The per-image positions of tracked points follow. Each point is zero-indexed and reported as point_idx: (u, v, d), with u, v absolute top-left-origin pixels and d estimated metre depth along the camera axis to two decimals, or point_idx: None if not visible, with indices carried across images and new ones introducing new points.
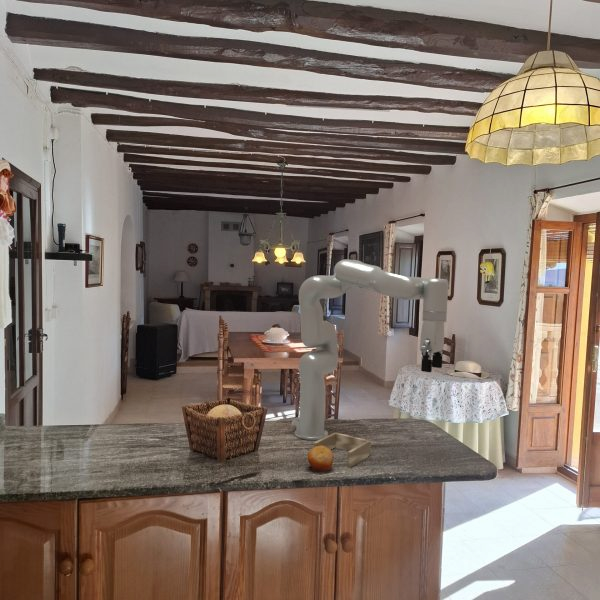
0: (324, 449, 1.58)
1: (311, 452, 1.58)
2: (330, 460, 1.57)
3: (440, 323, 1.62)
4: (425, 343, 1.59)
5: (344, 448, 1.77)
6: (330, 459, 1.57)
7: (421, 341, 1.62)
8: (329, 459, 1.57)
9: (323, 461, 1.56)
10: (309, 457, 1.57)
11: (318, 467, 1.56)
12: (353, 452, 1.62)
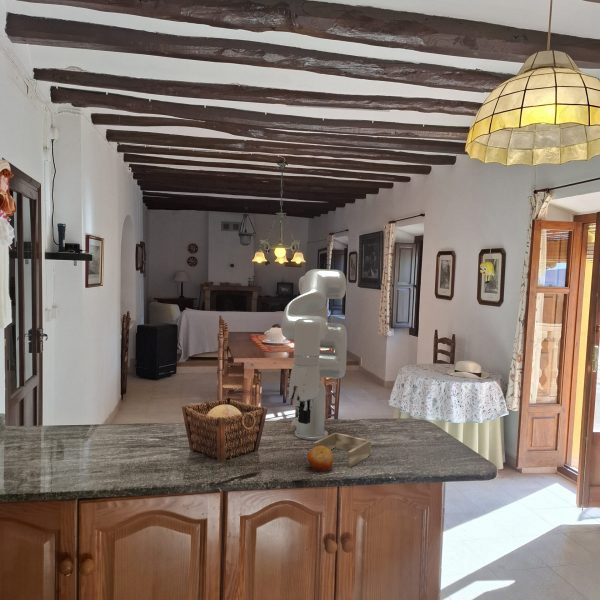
0: (324, 449, 1.58)
1: (311, 452, 1.58)
2: (330, 460, 1.57)
3: (311, 368, 1.47)
4: (295, 398, 1.46)
5: (344, 448, 1.77)
6: (330, 459, 1.57)
7: (289, 388, 1.47)
8: (329, 459, 1.57)
9: (323, 461, 1.56)
10: (309, 457, 1.57)
11: (318, 467, 1.56)
12: (353, 452, 1.62)
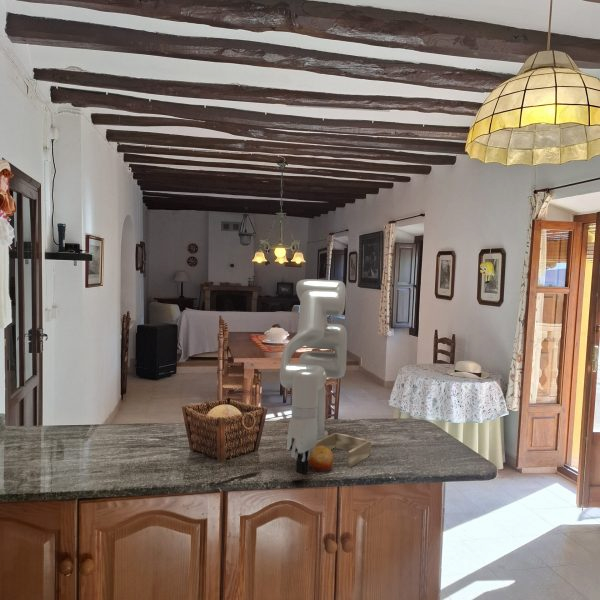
0: (324, 449, 1.58)
1: (311, 452, 1.58)
2: (330, 460, 1.57)
3: (309, 420, 1.48)
4: (293, 450, 1.46)
5: (344, 448, 1.77)
6: (330, 459, 1.57)
7: (288, 440, 1.47)
8: (329, 459, 1.57)
9: (323, 461, 1.56)
10: None
11: (318, 467, 1.56)
12: (353, 452, 1.62)
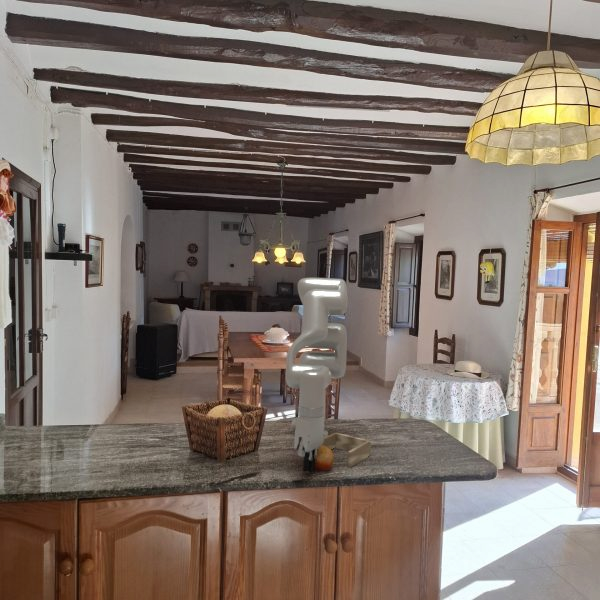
0: (324, 449, 1.59)
1: None
2: (330, 460, 1.57)
3: (316, 419, 1.51)
4: (300, 448, 1.50)
5: (344, 448, 1.77)
6: (330, 458, 1.57)
7: (295, 439, 1.51)
8: (329, 459, 1.57)
9: (324, 461, 1.56)
10: None
11: (318, 467, 1.56)
12: (353, 452, 1.62)
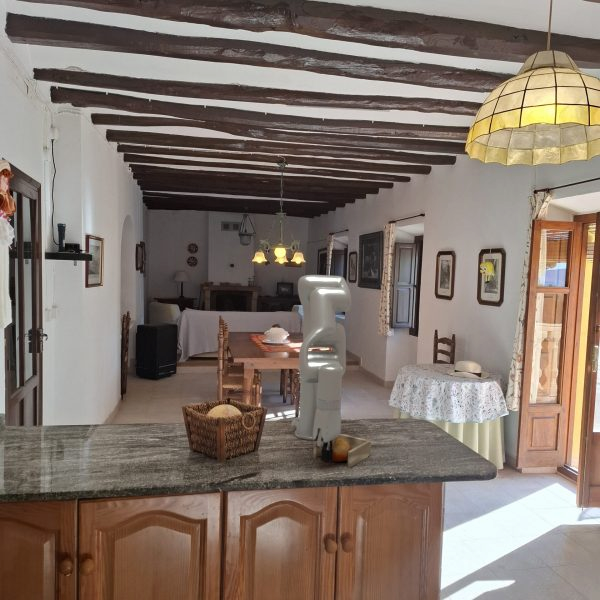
0: (341, 441, 1.66)
1: None
2: (347, 452, 1.65)
3: (333, 412, 1.59)
4: (319, 439, 1.58)
5: None
6: (347, 450, 1.65)
7: (314, 430, 1.59)
8: (346, 451, 1.64)
9: (340, 453, 1.63)
10: None
11: (335, 458, 1.64)
12: (353, 452, 1.62)
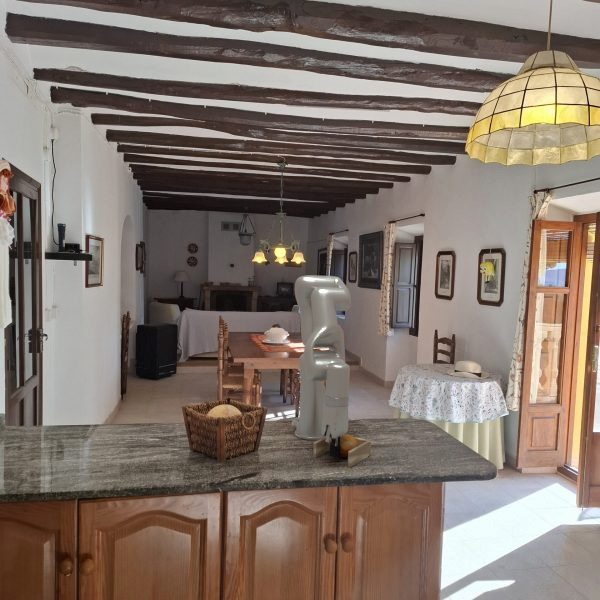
0: (349, 437, 1.70)
1: None
2: None
3: (341, 408, 1.63)
4: (327, 435, 1.62)
5: None
6: (354, 446, 1.69)
7: (322, 426, 1.63)
8: (353, 447, 1.68)
9: (348, 448, 1.68)
10: None
11: (343, 454, 1.68)
12: (353, 452, 1.62)
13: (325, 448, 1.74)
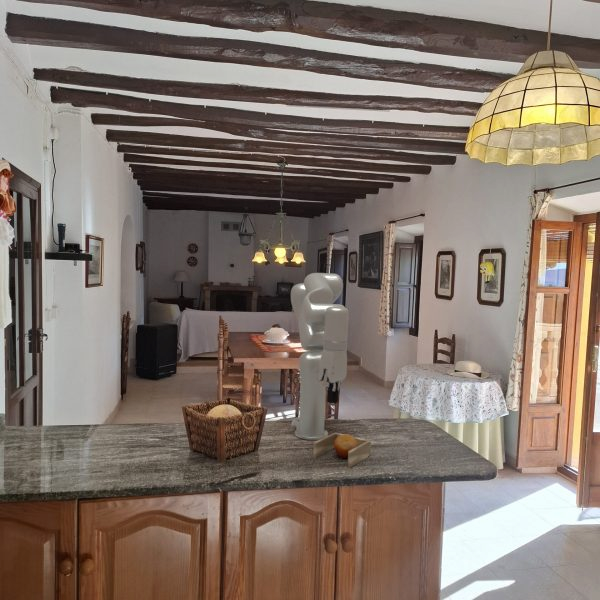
0: (349, 437, 1.70)
1: (337, 440, 1.70)
2: None
3: (339, 353, 1.60)
4: (325, 379, 1.59)
5: None
6: (354, 447, 1.69)
7: (320, 371, 1.60)
8: (353, 447, 1.68)
9: (348, 449, 1.68)
10: (335, 444, 1.70)
11: (343, 454, 1.68)
12: (353, 452, 1.62)
13: (325, 448, 1.74)
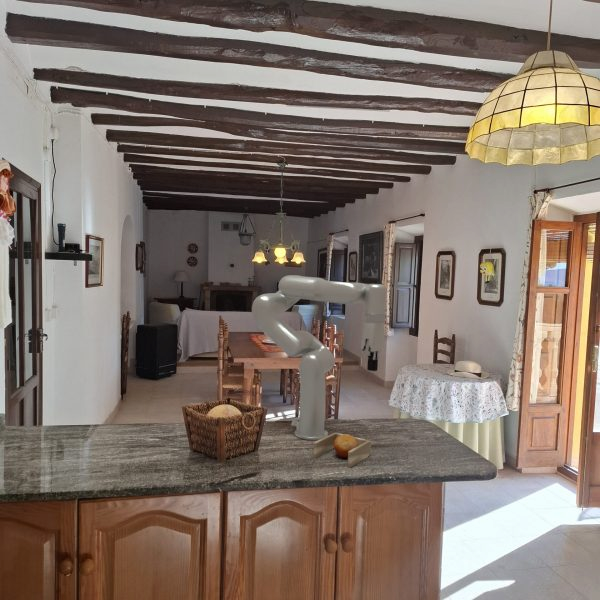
0: (349, 437, 1.70)
1: (337, 440, 1.70)
2: None
3: (379, 325, 1.78)
4: (367, 349, 1.77)
5: None
6: (354, 447, 1.69)
7: (362, 341, 1.78)
8: (353, 447, 1.68)
9: (348, 449, 1.68)
10: (335, 444, 1.70)
11: (343, 454, 1.68)
12: (353, 452, 1.62)
13: (325, 448, 1.74)
